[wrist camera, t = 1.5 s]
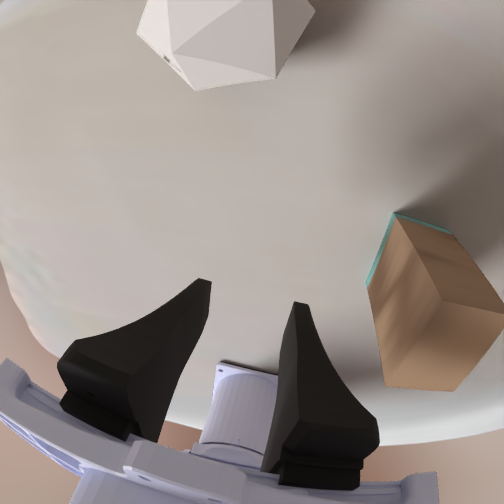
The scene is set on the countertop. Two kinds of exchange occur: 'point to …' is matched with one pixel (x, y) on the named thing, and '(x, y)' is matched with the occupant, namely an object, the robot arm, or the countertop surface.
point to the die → (224, 37)
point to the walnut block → (430, 307)
